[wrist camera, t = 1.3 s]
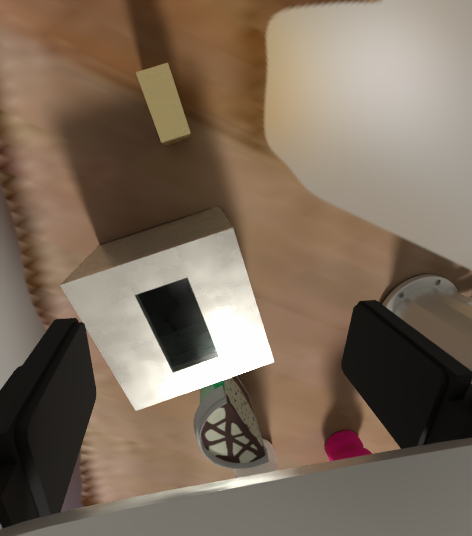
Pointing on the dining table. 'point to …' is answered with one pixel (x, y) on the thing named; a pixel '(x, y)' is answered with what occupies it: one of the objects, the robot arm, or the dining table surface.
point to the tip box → (171, 307)
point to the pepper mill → (344, 446)
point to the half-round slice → (229, 426)
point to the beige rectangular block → (164, 103)
